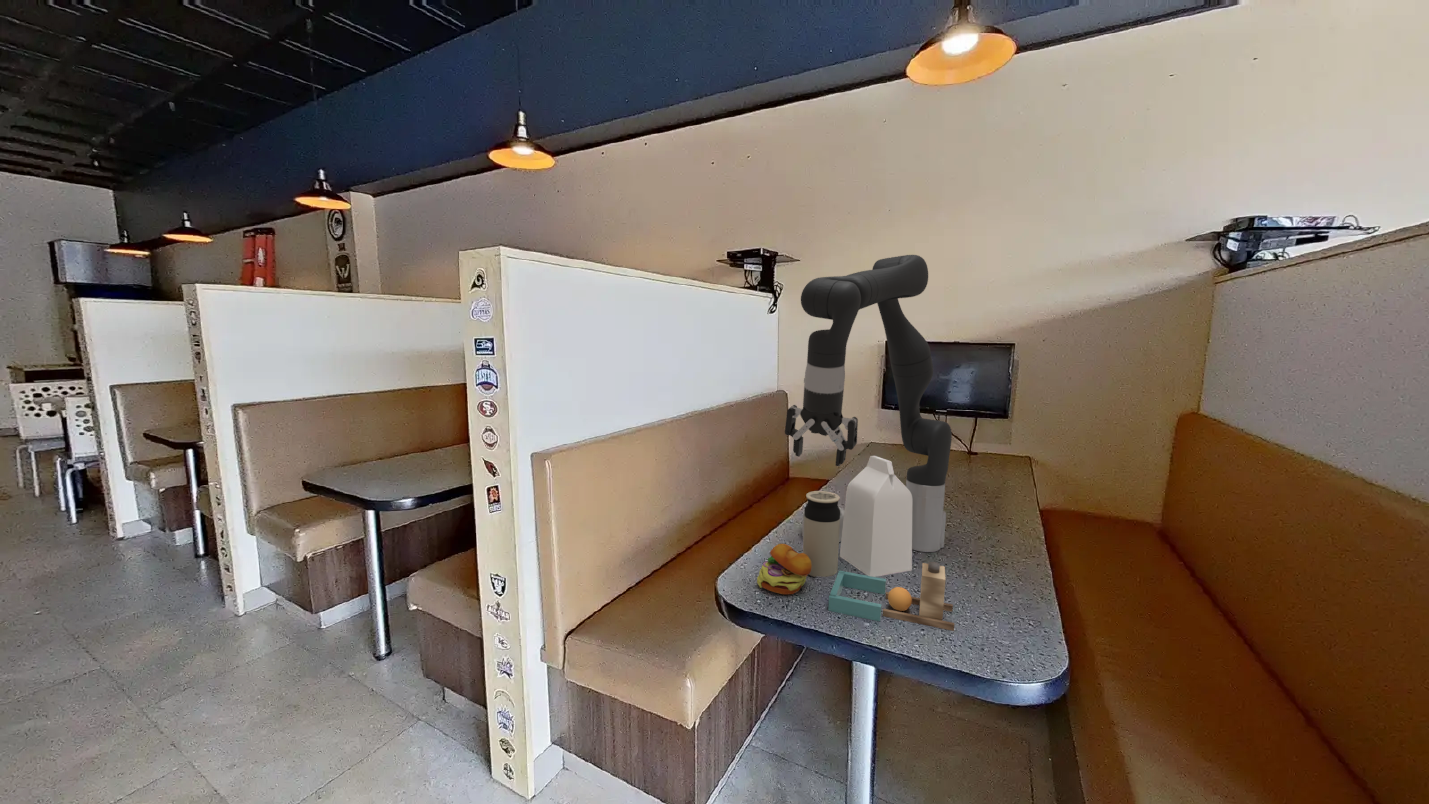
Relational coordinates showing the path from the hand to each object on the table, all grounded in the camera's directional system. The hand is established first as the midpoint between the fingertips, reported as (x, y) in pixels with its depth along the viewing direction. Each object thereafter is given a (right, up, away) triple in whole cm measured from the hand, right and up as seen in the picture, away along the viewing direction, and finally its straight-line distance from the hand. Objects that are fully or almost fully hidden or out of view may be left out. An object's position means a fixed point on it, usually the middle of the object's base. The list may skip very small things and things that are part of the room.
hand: (818, 459), depth 106 cm
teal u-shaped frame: (+8, -29, -1) cm, 30 cm away
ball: (+15, -27, -4) cm, 31 cm away
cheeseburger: (-6, -28, +7) cm, 30 cm away
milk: (+17, -27, +17) cm, 36 cm away
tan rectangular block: (+20, -29, -6) cm, 36 cm away
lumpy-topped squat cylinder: (+8, -25, +33) cm, 43 cm away
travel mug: (+3, -27, +14) cm, 31 cm away
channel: (+18, -29, -5) cm, 35 cm away
